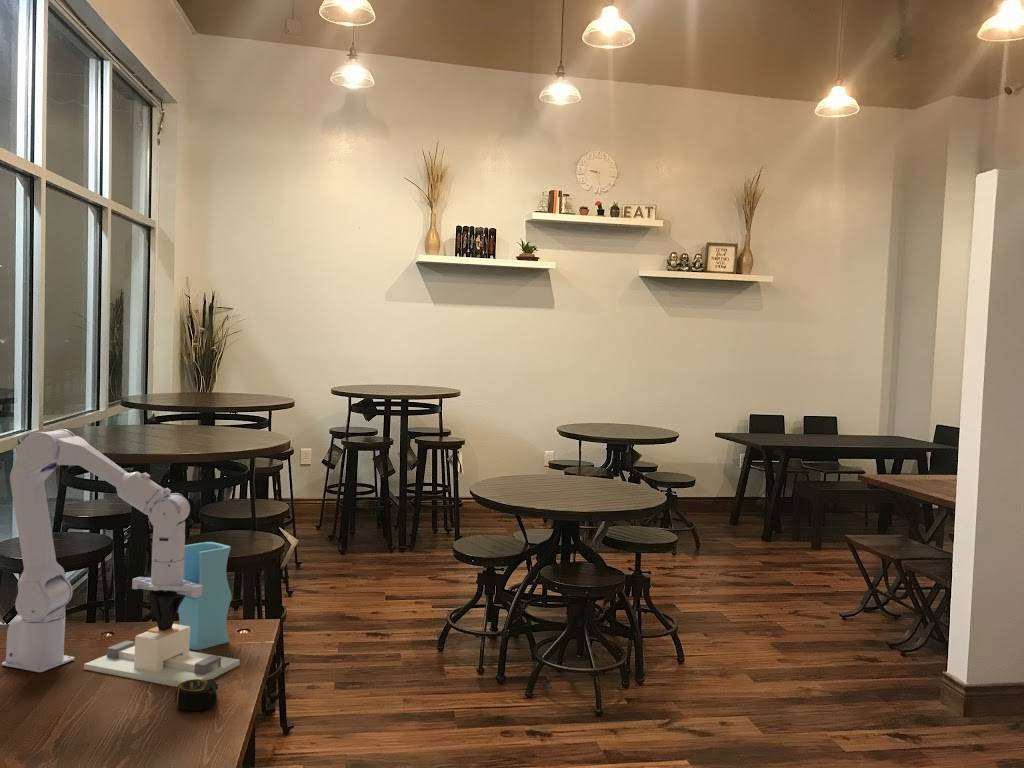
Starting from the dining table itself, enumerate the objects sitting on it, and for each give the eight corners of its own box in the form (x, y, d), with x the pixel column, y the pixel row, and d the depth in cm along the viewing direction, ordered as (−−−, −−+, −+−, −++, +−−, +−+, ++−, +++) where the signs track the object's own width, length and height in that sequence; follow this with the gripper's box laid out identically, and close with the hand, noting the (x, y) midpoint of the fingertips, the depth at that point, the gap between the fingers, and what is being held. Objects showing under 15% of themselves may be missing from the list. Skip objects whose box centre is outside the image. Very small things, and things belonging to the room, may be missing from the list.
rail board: (83, 669, 154) (84, 654, 154) (138, 647, 168) (139, 633, 168) (191, 689, 147) (192, 674, 147) (239, 664, 161) (240, 650, 161)
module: (133, 668, 154) (135, 634, 154) (167, 653, 162) (169, 621, 162) (156, 672, 152) (157, 638, 152) (188, 657, 161) (190, 624, 161)
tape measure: (216, 713, 138) (217, 691, 138) (172, 716, 136) (173, 693, 136) (217, 697, 145) (218, 676, 145) (175, 700, 143) (176, 678, 143)
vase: (173, 642, 172) (177, 546, 172) (206, 633, 178) (210, 541, 178) (196, 650, 167) (200, 552, 167) (229, 641, 174) (233, 546, 174)
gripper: (121, 559, 156) (118, 630, 156) (185, 567, 151) (182, 641, 151) (148, 551, 162) (145, 620, 163) (210, 559, 158) (207, 630, 158)
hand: (165, 630), depth 157 cm, fingers closed, pressing on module
